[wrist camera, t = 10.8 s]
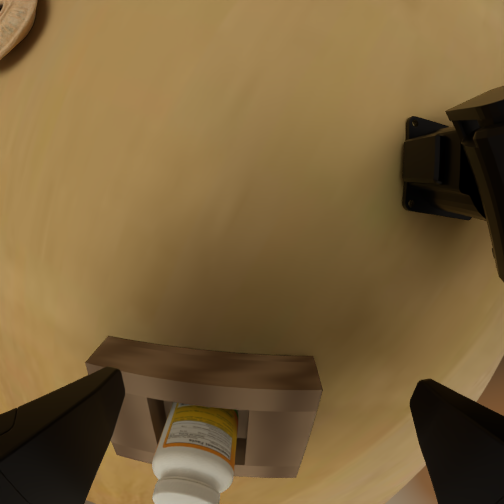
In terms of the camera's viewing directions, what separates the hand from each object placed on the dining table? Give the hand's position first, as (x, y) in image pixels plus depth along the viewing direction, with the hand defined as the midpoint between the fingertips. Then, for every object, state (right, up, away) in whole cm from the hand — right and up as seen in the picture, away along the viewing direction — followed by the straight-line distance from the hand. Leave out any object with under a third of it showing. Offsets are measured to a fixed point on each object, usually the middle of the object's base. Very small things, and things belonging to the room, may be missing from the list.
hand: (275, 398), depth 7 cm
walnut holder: (-4, -8, +15) cm, 17 cm away
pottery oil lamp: (-22, +27, +7) cm, 36 cm away
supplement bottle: (-4, -9, +14) cm, 17 cm away
